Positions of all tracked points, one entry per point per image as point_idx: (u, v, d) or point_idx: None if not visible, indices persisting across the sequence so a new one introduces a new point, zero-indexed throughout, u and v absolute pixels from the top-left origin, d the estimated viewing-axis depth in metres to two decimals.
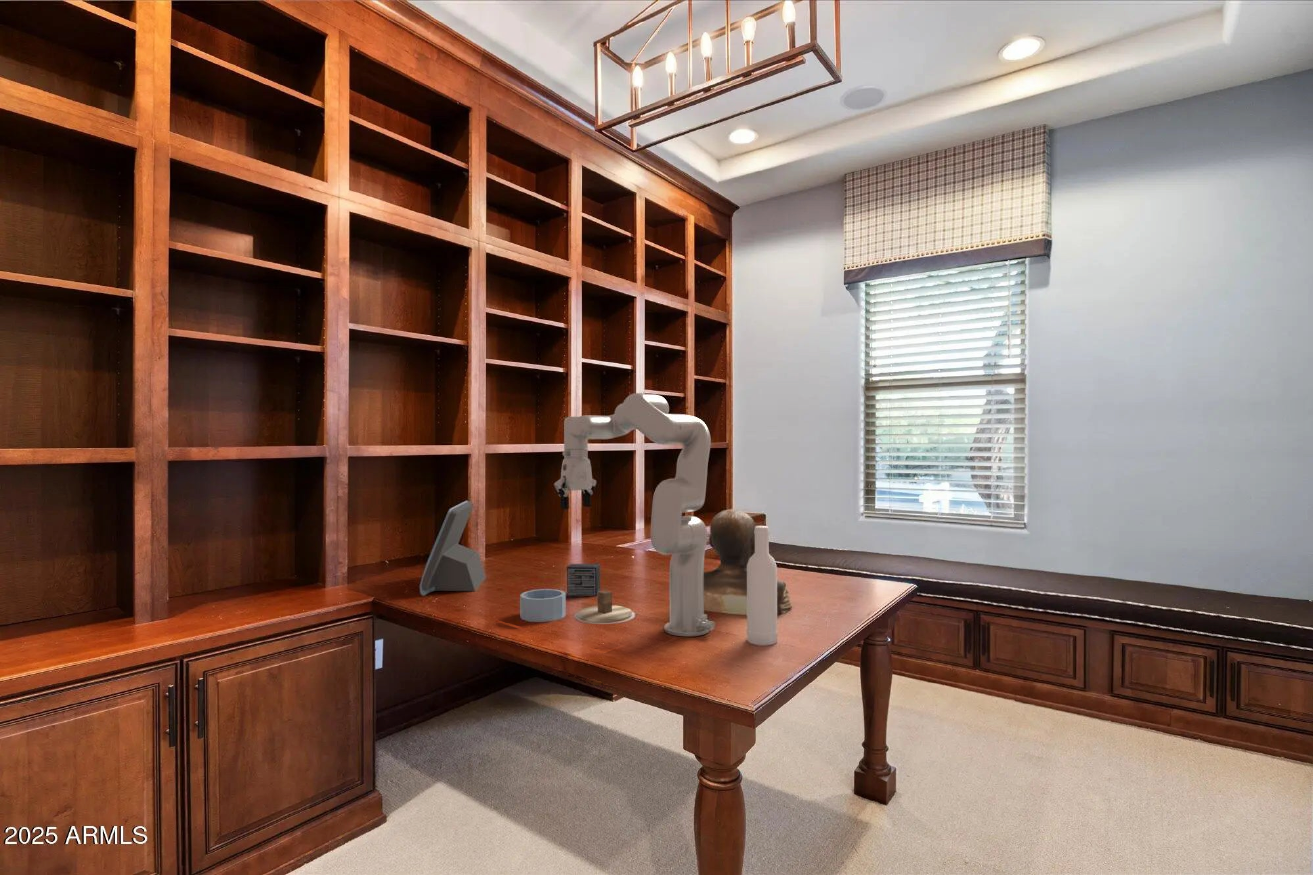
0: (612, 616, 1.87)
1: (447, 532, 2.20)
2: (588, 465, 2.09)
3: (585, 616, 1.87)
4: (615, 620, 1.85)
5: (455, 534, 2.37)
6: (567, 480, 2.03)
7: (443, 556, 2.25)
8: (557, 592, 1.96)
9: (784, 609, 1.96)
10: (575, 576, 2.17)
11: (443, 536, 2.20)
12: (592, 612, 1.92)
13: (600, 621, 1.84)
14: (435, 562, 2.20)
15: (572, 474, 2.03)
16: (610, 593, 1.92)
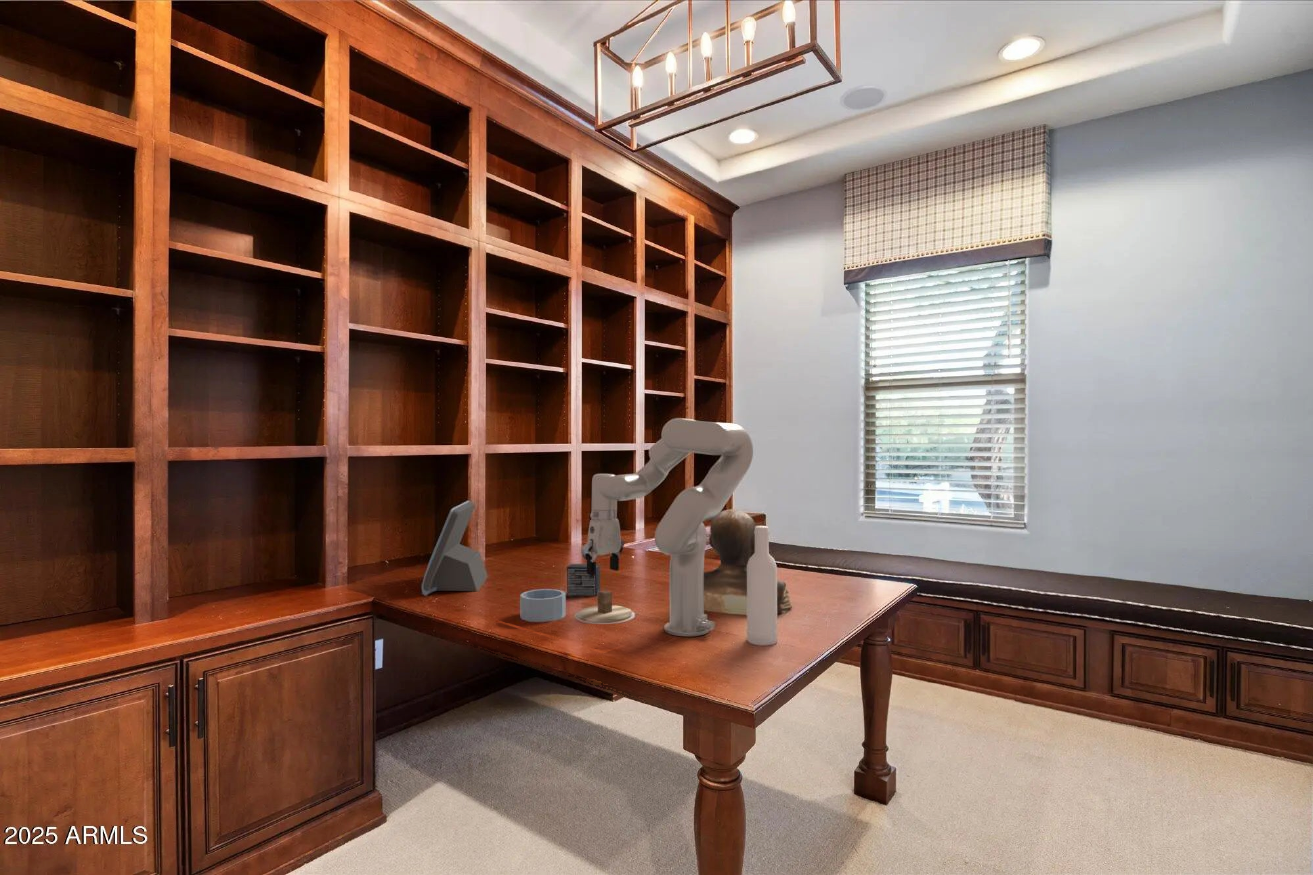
0: (612, 616, 1.87)
1: (449, 532, 2.20)
2: (617, 527, 1.93)
3: (585, 616, 1.87)
4: (615, 620, 1.85)
5: (457, 534, 2.37)
6: (595, 544, 1.88)
7: (445, 556, 2.25)
8: (557, 592, 1.96)
9: (784, 609, 1.97)
10: (575, 576, 2.17)
11: (445, 536, 2.20)
12: (592, 612, 1.92)
13: (600, 621, 1.84)
14: (437, 562, 2.20)
15: (600, 538, 1.88)
16: (610, 593, 1.92)
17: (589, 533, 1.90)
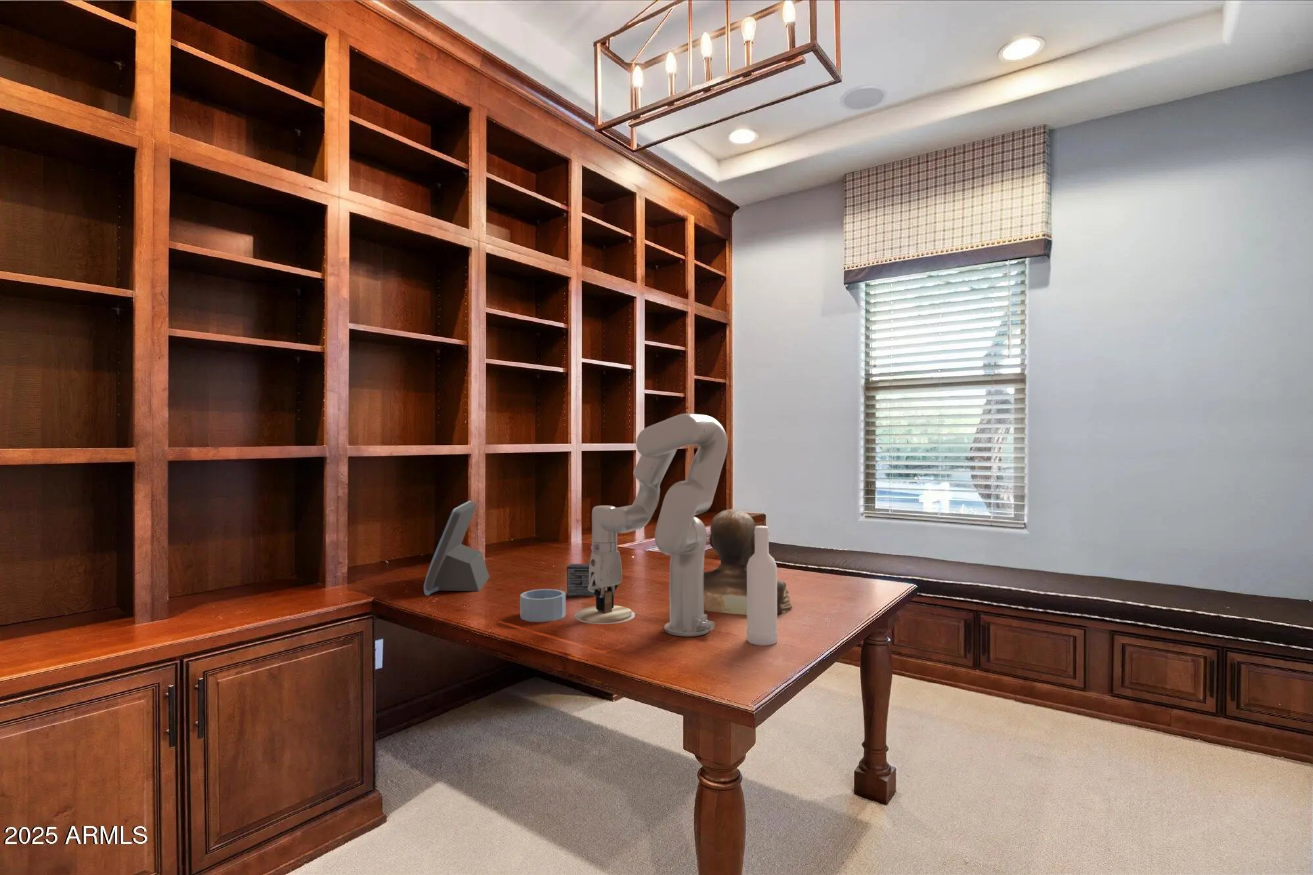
0: (612, 616, 1.87)
1: (451, 532, 2.21)
2: (618, 558, 1.93)
3: (585, 616, 1.87)
4: (615, 620, 1.85)
5: (459, 534, 2.37)
6: (596, 577, 1.87)
7: (447, 556, 2.25)
8: (557, 592, 1.96)
9: (784, 609, 1.97)
10: (575, 576, 2.17)
11: (447, 536, 2.20)
12: (592, 612, 1.92)
13: (600, 621, 1.84)
14: (439, 562, 2.20)
15: (601, 570, 1.88)
16: (610, 593, 1.92)
17: (590, 566, 1.89)
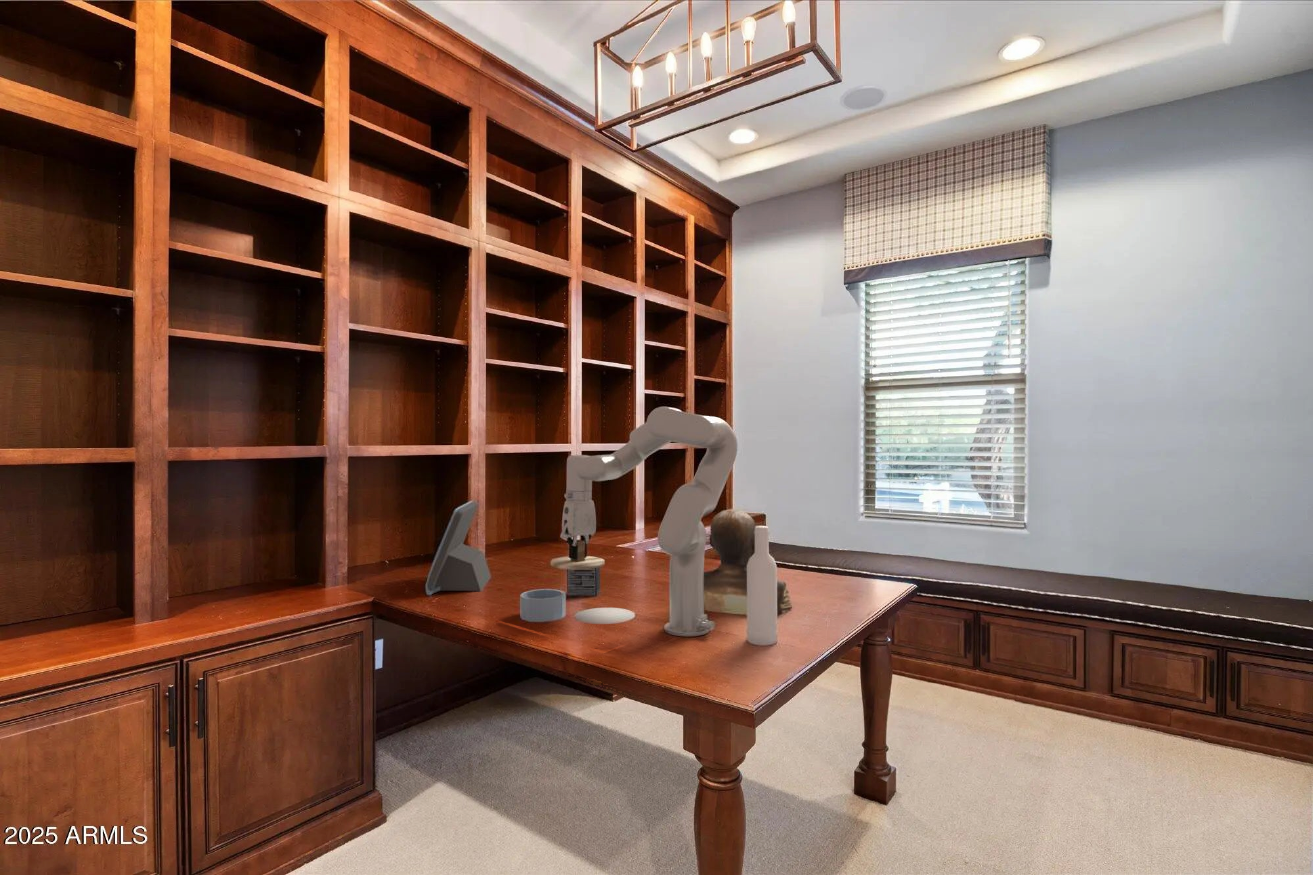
0: (584, 564, 1.87)
1: (453, 532, 2.21)
2: (592, 508, 1.93)
3: (557, 563, 1.88)
4: (586, 567, 1.85)
5: (460, 534, 2.37)
6: (569, 525, 1.88)
7: (449, 556, 2.25)
8: (557, 592, 1.96)
9: (784, 609, 1.97)
10: (575, 576, 2.17)
11: (449, 536, 2.20)
12: (565, 560, 1.92)
13: (571, 568, 1.85)
14: (441, 562, 2.20)
15: (574, 518, 1.88)
16: (583, 542, 1.92)
17: (563, 514, 1.90)
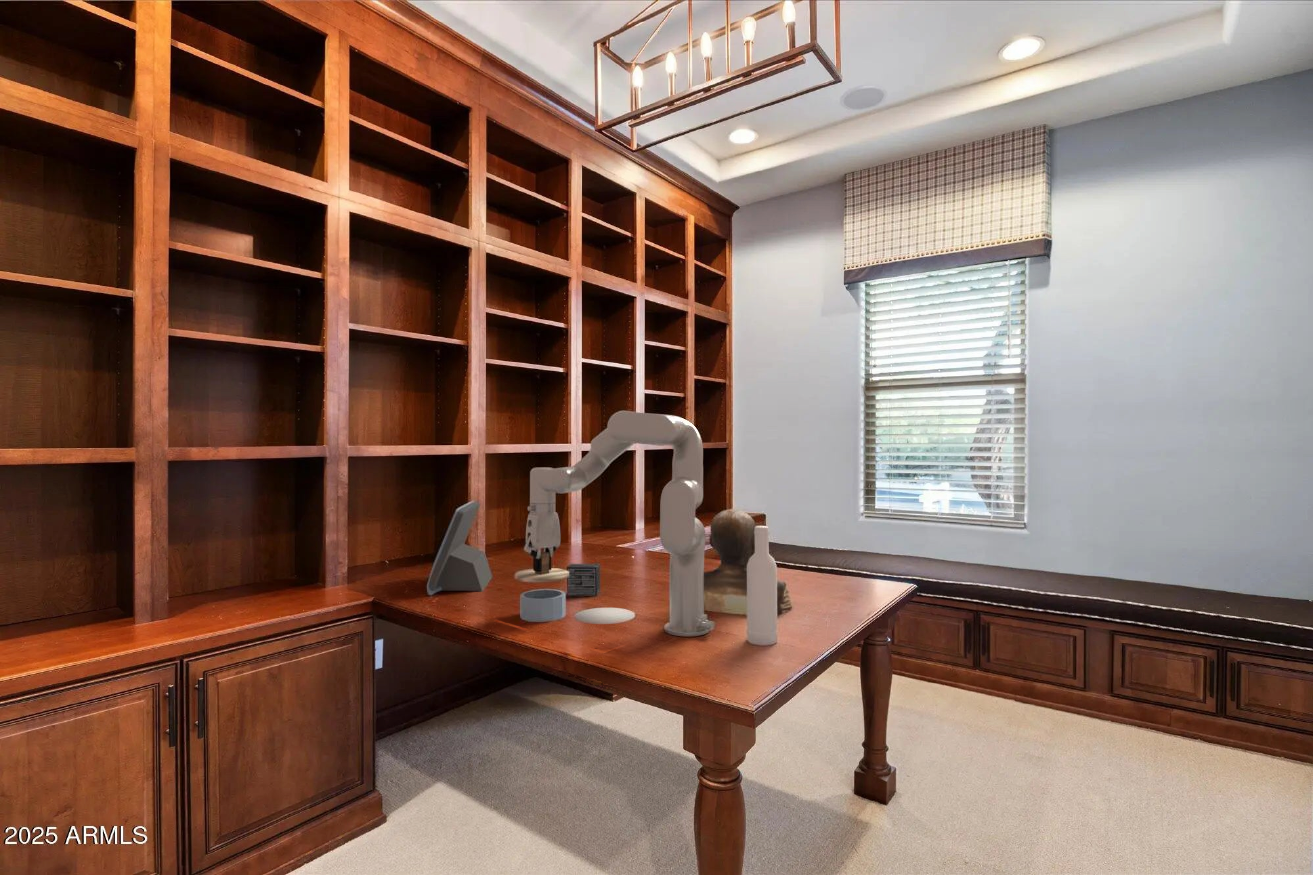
0: (547, 576, 1.87)
1: (454, 532, 2.21)
2: (556, 520, 1.93)
3: (521, 576, 1.87)
4: (550, 580, 1.85)
5: (462, 534, 2.37)
6: (532, 537, 1.87)
7: (450, 556, 2.25)
8: (557, 592, 1.96)
9: (784, 609, 1.97)
10: (575, 576, 2.17)
11: (450, 536, 2.21)
12: (529, 573, 1.92)
13: (535, 581, 1.84)
14: (442, 562, 2.20)
15: (537, 531, 1.88)
16: (547, 554, 1.92)
17: (527, 527, 1.89)
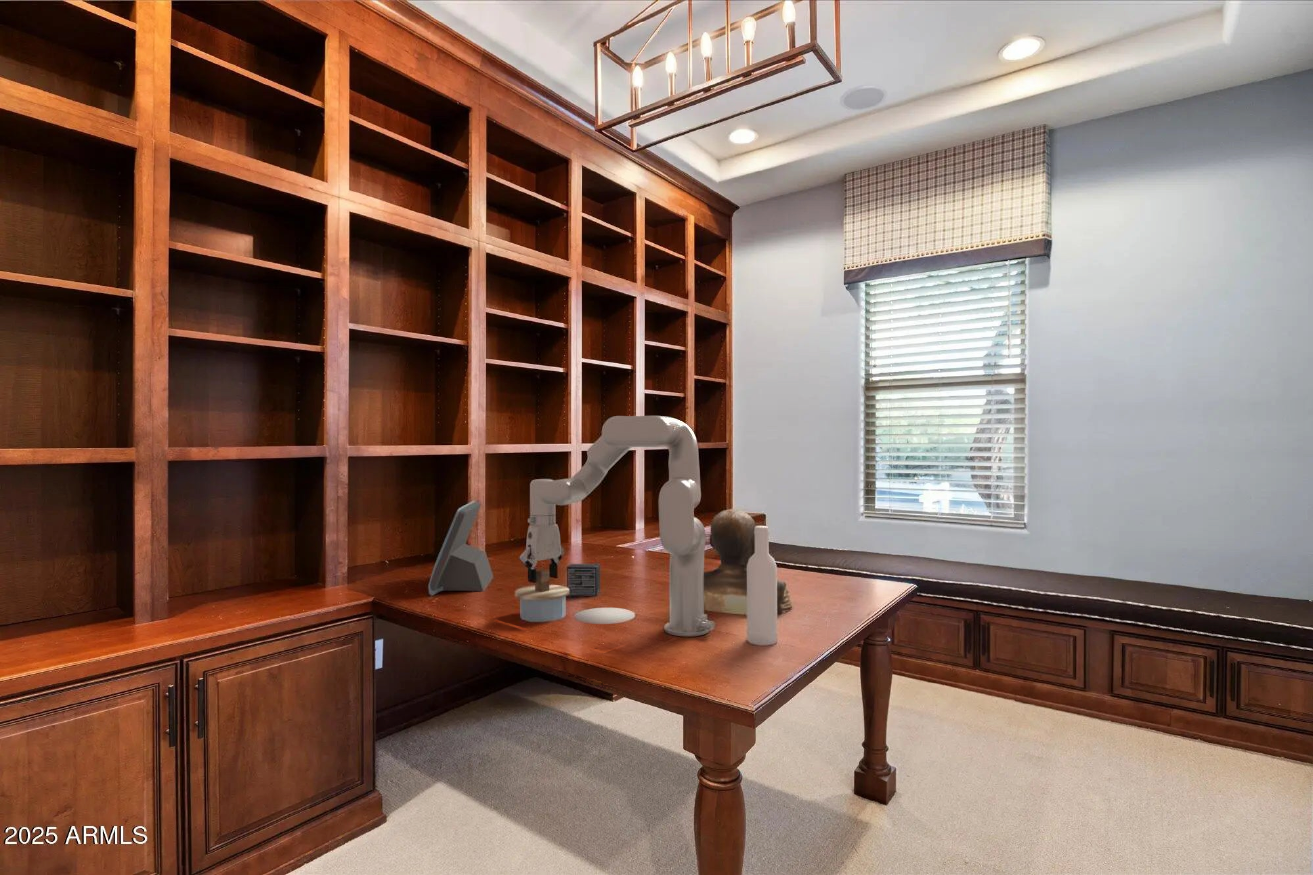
0: (547, 594, 1.87)
1: (456, 532, 2.21)
2: (556, 532, 1.93)
3: (521, 594, 1.87)
4: (550, 598, 1.85)
5: (463, 534, 2.37)
6: (532, 550, 1.87)
7: (451, 556, 2.25)
8: None
9: (784, 609, 1.97)
10: (575, 576, 2.17)
11: (452, 536, 2.21)
12: (529, 591, 1.92)
13: (535, 599, 1.84)
14: (444, 562, 2.20)
15: (538, 543, 1.88)
16: (547, 572, 1.92)
17: (527, 539, 1.89)
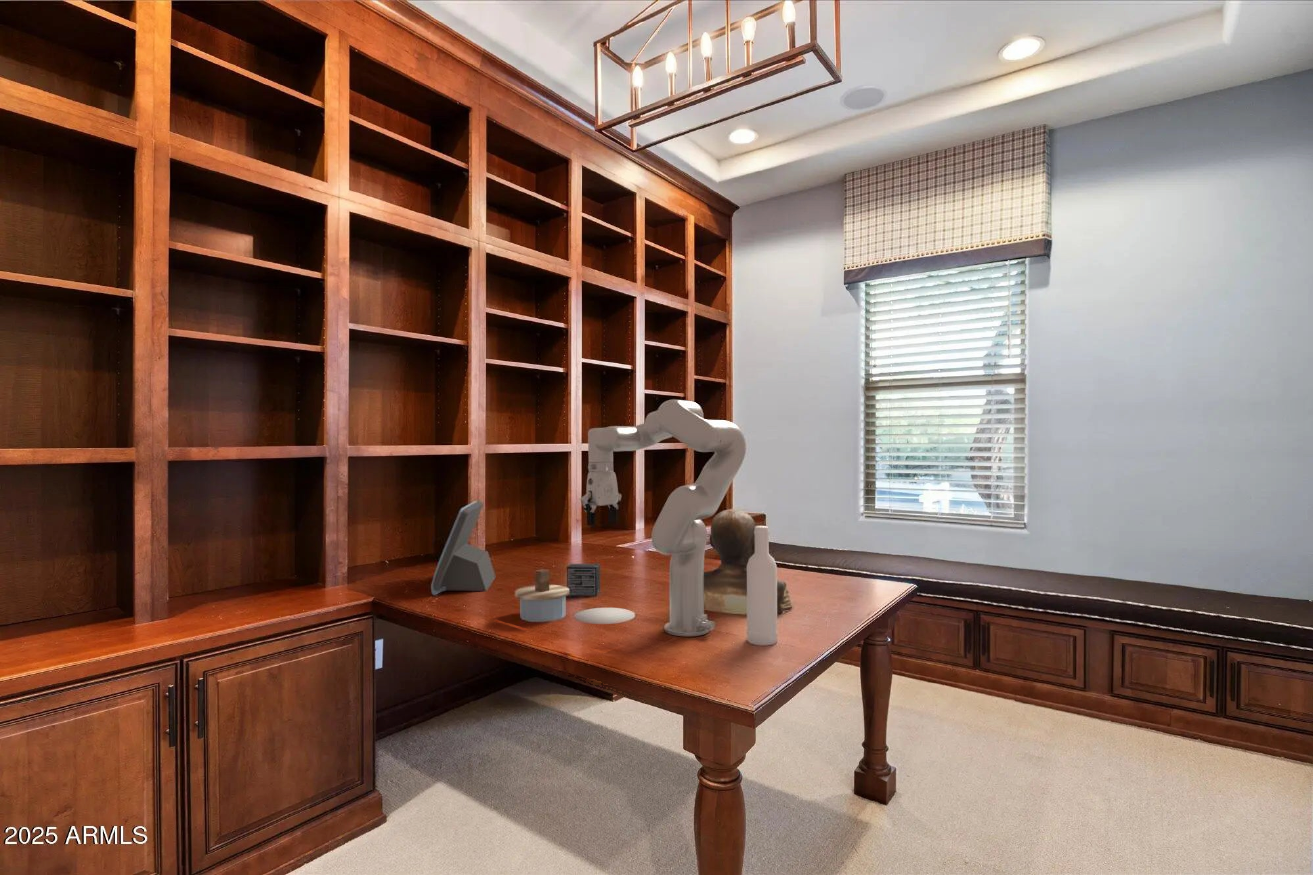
0: (547, 594, 1.87)
1: (458, 532, 2.21)
2: (614, 479, 1.99)
3: (521, 594, 1.87)
4: (550, 598, 1.85)
5: (465, 534, 2.37)
6: (594, 495, 1.93)
7: (454, 556, 2.25)
8: None
9: (784, 609, 1.97)
10: (575, 576, 2.17)
11: (454, 535, 2.21)
12: (529, 591, 1.92)
13: (535, 599, 1.84)
14: (446, 562, 2.20)
15: (599, 488, 1.93)
16: (547, 572, 1.92)
17: (587, 485, 1.95)
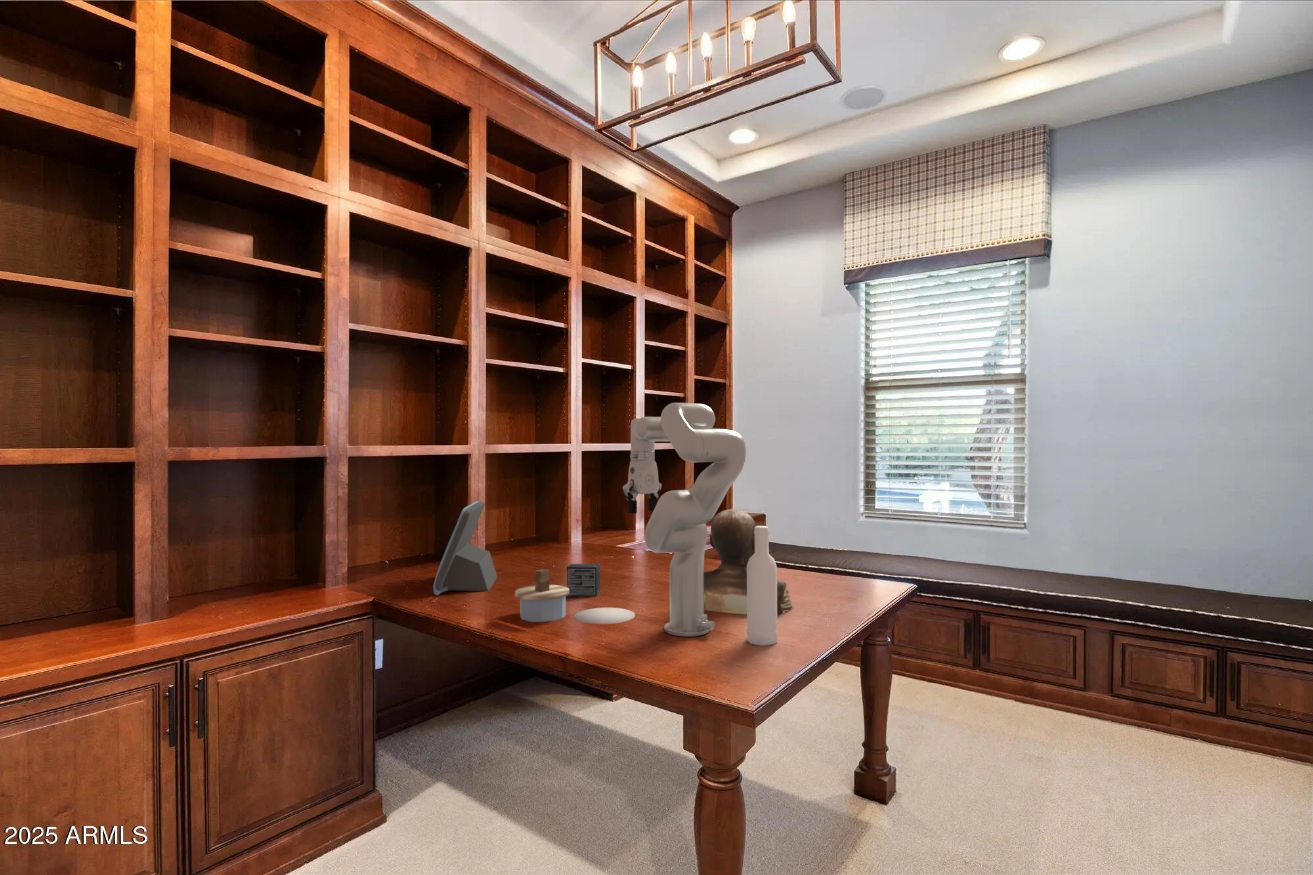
0: (547, 594, 1.87)
1: (461, 532, 2.21)
2: (655, 468, 2.03)
3: (521, 594, 1.87)
4: (550, 598, 1.85)
5: (467, 534, 2.37)
6: (635, 483, 1.98)
7: (456, 556, 2.25)
8: None
9: (784, 609, 1.97)
10: (575, 576, 2.17)
11: (457, 535, 2.21)
12: (529, 591, 1.92)
13: (535, 599, 1.84)
14: (449, 562, 2.20)
15: (640, 477, 1.98)
16: (547, 572, 1.92)
17: (629, 474, 2.00)
